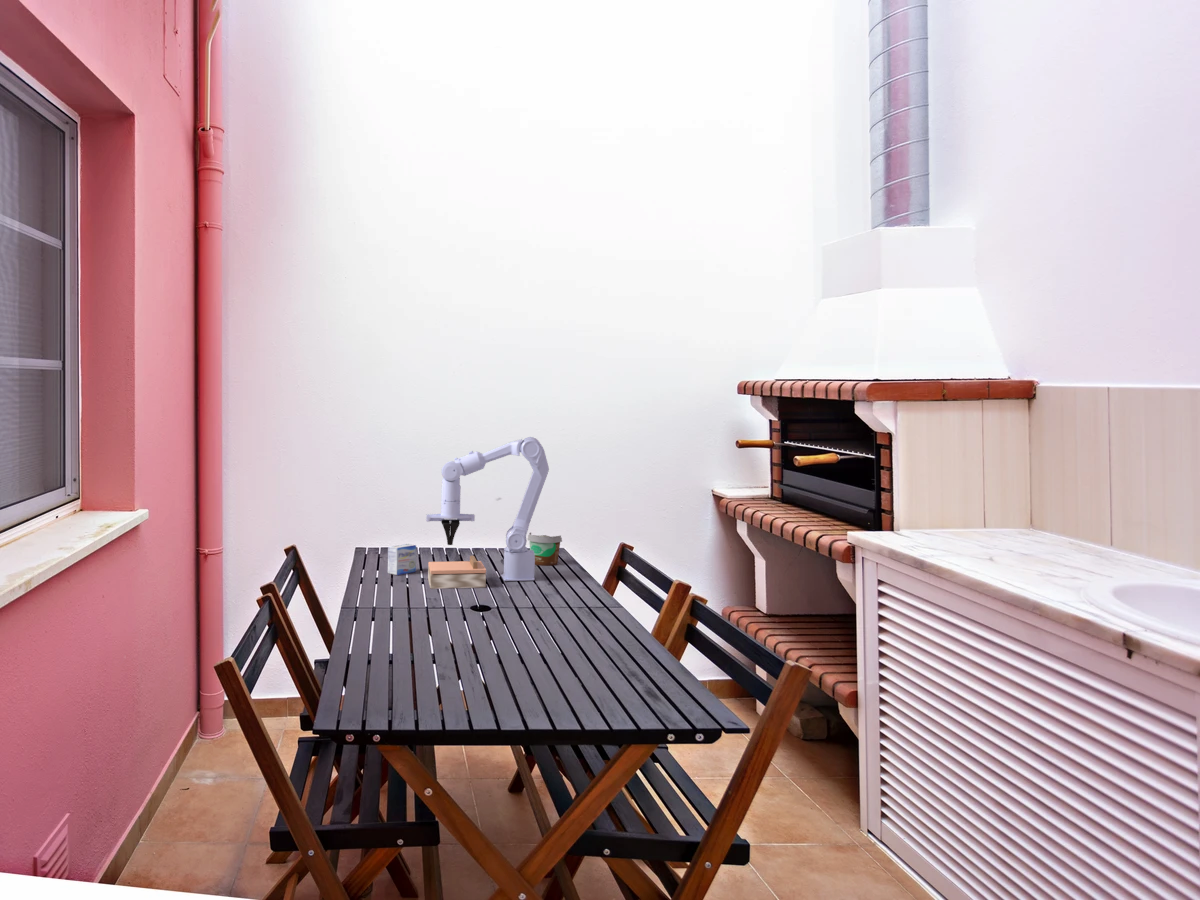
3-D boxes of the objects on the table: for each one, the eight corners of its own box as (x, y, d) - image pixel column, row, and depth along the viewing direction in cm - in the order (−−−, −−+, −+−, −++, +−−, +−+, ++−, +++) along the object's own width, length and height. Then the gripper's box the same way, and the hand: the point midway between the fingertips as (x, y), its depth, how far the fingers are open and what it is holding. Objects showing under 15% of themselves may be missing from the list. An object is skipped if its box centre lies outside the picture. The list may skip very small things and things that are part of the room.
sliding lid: (480, 564, 272) (481, 554, 271) (486, 573, 259) (486, 563, 259) (428, 565, 268) (428, 555, 267) (430, 574, 255) (431, 563, 255)
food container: (520, 564, 295) (521, 534, 295) (528, 561, 301) (529, 532, 300) (553, 568, 291) (554, 538, 290) (561, 564, 296) (562, 535, 296)
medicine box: (396, 575, 271) (397, 548, 271) (387, 573, 274) (387, 546, 273) (416, 572, 278) (416, 545, 277) (406, 570, 280) (407, 543, 280)
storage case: (480, 577, 272) (480, 565, 272) (485, 587, 259) (485, 574, 259) (427, 579, 268) (428, 566, 268) (430, 588, 255) (430, 575, 255)
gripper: (473, 498, 275) (472, 541, 275) (426, 498, 271) (425, 542, 272) (475, 501, 268) (474, 545, 269) (427, 501, 264) (426, 546, 265)
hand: (449, 544), depth 270 cm, fingers closed
